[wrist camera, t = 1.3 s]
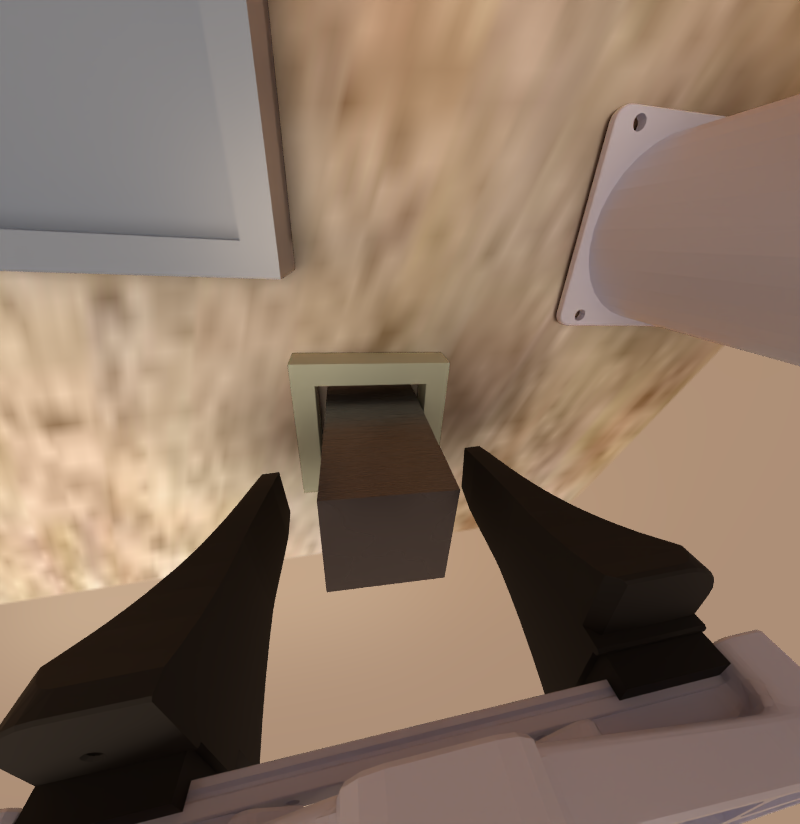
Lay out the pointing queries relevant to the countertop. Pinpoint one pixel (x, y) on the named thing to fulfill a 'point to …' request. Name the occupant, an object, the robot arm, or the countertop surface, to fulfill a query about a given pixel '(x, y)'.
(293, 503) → the countertop surface
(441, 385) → the holder
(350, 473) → the dark wooden post
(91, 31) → the tray
